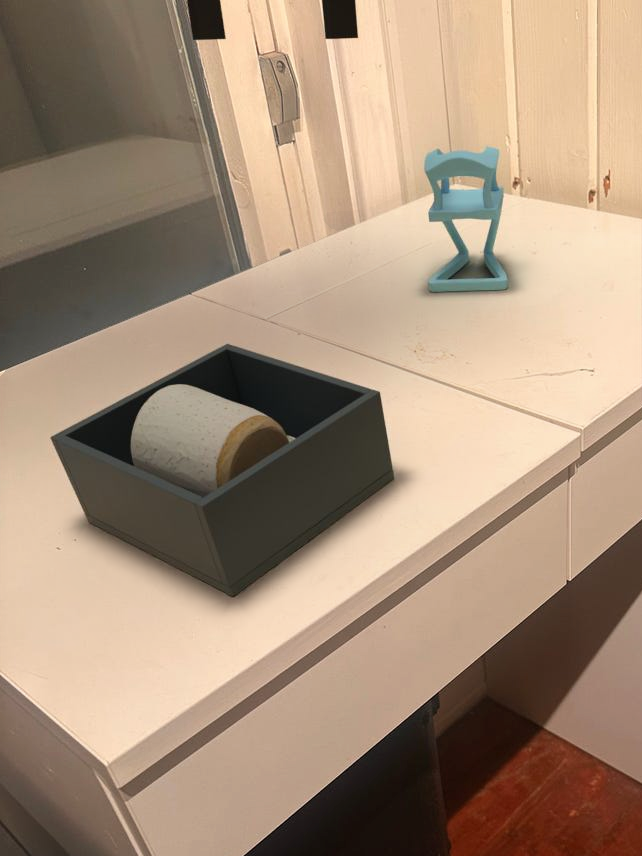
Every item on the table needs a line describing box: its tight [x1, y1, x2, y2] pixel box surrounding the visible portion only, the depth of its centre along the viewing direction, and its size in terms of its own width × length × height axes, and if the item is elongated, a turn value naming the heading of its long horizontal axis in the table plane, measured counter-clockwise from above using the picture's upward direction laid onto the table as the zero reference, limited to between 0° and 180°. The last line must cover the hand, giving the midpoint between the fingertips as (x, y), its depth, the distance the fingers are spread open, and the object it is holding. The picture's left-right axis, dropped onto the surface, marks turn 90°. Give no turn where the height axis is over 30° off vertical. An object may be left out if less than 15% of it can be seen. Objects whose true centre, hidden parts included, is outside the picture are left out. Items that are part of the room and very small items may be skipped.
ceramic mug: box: [131, 384, 296, 498], centre depth 62 cm, size 11×8×8 cm
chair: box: [423, 145, 509, 293], centre depth 87 cm, size 8×8×12 cm
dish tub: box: [50, 343, 395, 597], centre depth 62 cm, size 15×15×7 cm
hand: (272, 39), depth 68 cm, fingers open, 13 cm apart
